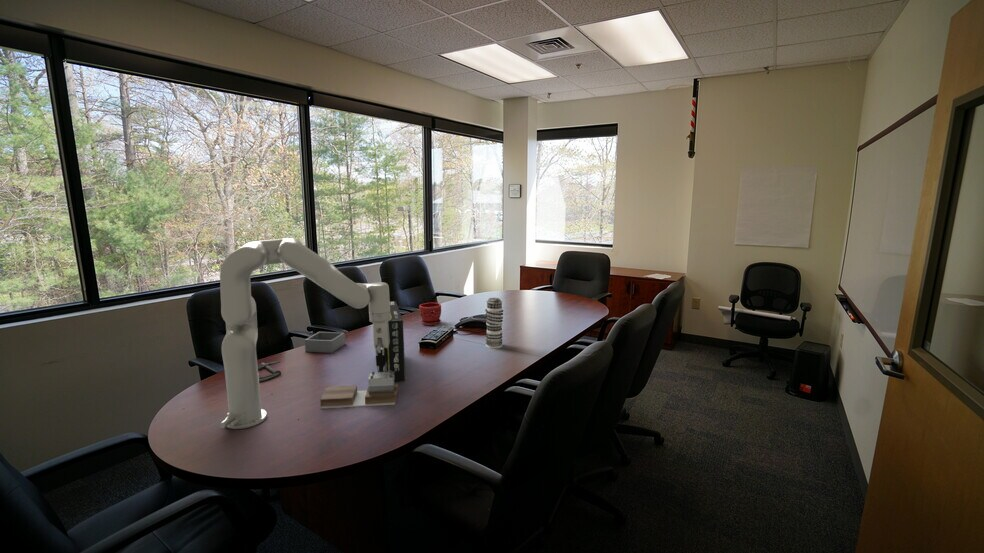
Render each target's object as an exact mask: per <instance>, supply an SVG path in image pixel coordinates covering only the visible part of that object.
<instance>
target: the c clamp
mask: <svg viewBox="0 0 984 553" xmlns="http://www.w3.org/2000/svg"><path fill="white" fill-rule="evenodd" d="M280 362H281V361H279V360H277V361H274V362H273V361H271V362H267V363H266V362H261V363H260V364H259V365H258V371H261V370H264V369H265V370H268V371H269V372H271V374H268V375H265V376H259V383H261V382H264V381H268V380H271V379H273V378H276V377H277V376H281V375H282V372H281V370H279V369H276V370H275V368H272V367H271V366H270V365H274V364H278V363H280Z"/></svg>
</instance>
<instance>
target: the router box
mask: <svg viewBox="0 0 984 553" xmlns="http://www.w3.org/2000/svg"><path fill="white" fill-rule="evenodd" d="M390 318H391V320H389V321H388V324H389V336H390V343H389V347H388V356H385V363H386V364H385V366H377V365H376V368H377V372H390V371H392V372H394V377H395V383H398V382H404V381H406V364H405V363H406V362H405V361H406V360H405V340H404V338H405V337H404V319H403V317H402V314H401V311H400V309H399V306H398V303H397V301H396V300H393V301H392V300H390ZM374 349H375V348H374ZM375 351H376V349H375Z"/></svg>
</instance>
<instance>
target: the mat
mask: <svg viewBox="0 0 984 553" xmlns="http://www.w3.org/2000/svg"><path fill="white" fill-rule="evenodd" d="M366 393H367V390H357V394H356V396H355V399H354V402H353V405H337V406H321V405H320V409H321V410H324V409H339V408H356V407H357V408H359V407H373V406H374V407H377V406H378V407H379V406H393V405H396V403H397V401H396V402H393V403H375V404H365V396H366Z"/></svg>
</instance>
